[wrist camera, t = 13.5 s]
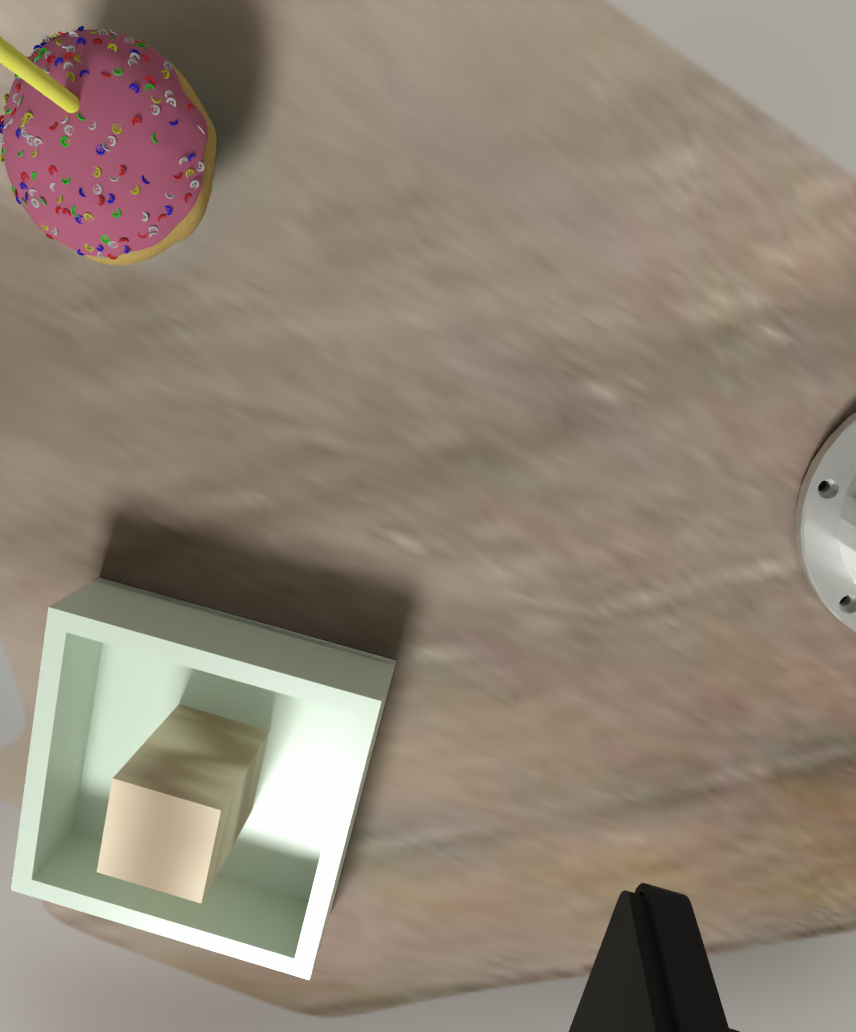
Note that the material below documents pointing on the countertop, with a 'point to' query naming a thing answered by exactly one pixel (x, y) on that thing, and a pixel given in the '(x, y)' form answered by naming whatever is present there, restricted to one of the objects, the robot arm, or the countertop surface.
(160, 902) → the bin
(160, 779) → the beech block
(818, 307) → the countertop surface
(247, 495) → the countertop surface
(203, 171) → the cupcake
